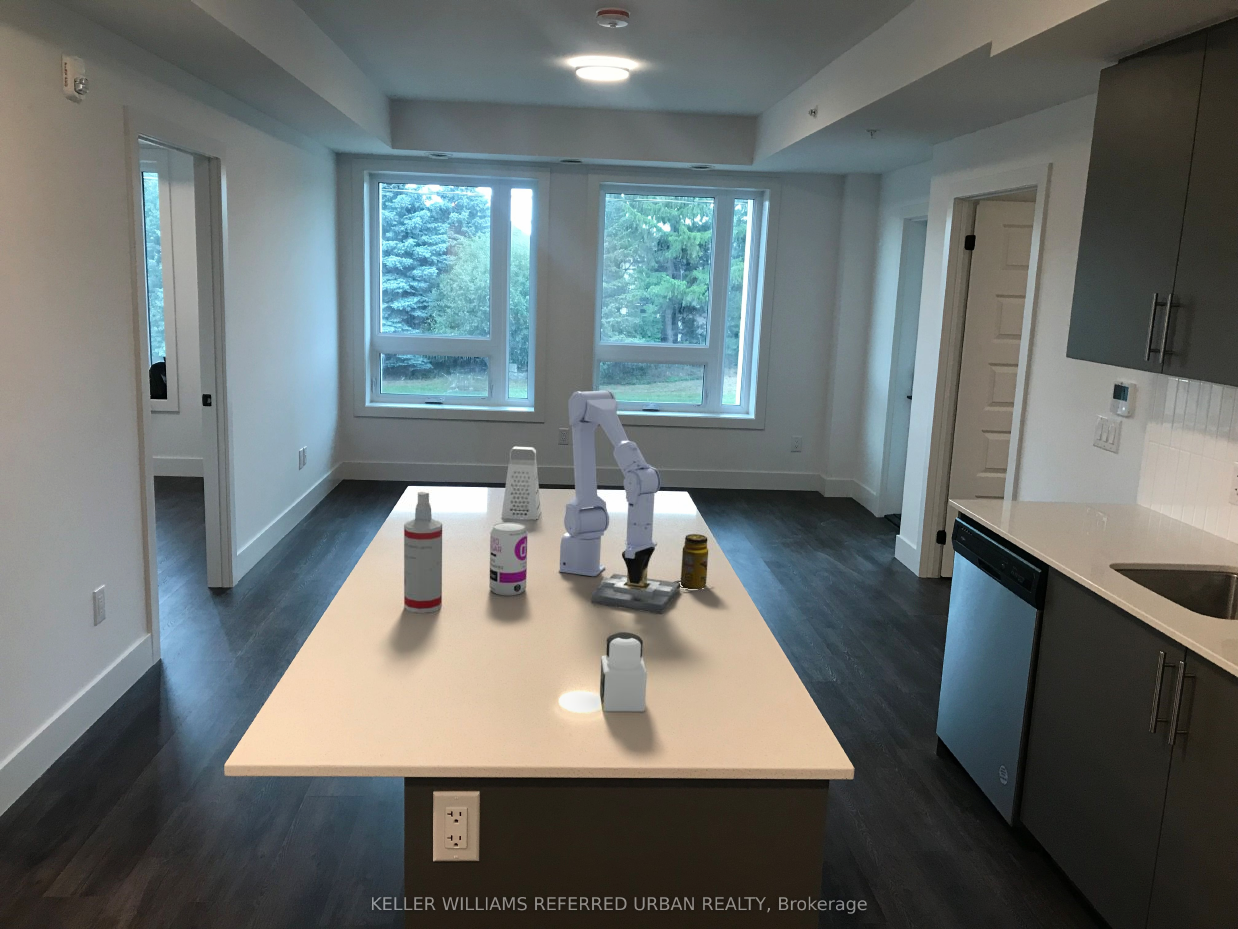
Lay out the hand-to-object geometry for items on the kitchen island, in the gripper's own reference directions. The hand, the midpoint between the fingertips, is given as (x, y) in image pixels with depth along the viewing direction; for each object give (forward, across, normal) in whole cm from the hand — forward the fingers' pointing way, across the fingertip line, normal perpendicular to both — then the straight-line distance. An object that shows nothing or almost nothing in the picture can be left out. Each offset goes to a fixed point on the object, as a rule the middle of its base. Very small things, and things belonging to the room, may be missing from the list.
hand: (637, 580), depth 213 cm
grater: (+4, +55, +52) cm, 76 cm away
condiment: (+4, +13, -9) cm, 17 cm away
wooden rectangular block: (+4, 0, 0) cm, 4 cm away
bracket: (+2, 0, 0) cm, 2 cm away
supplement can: (+4, -8, +28) cm, 29 cm away
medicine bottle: (+4, -52, -13) cm, 54 cm away
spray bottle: (+4, -25, +40) cm, 47 cm away
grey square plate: (+4, 0, 0) cm, 4 cm away
